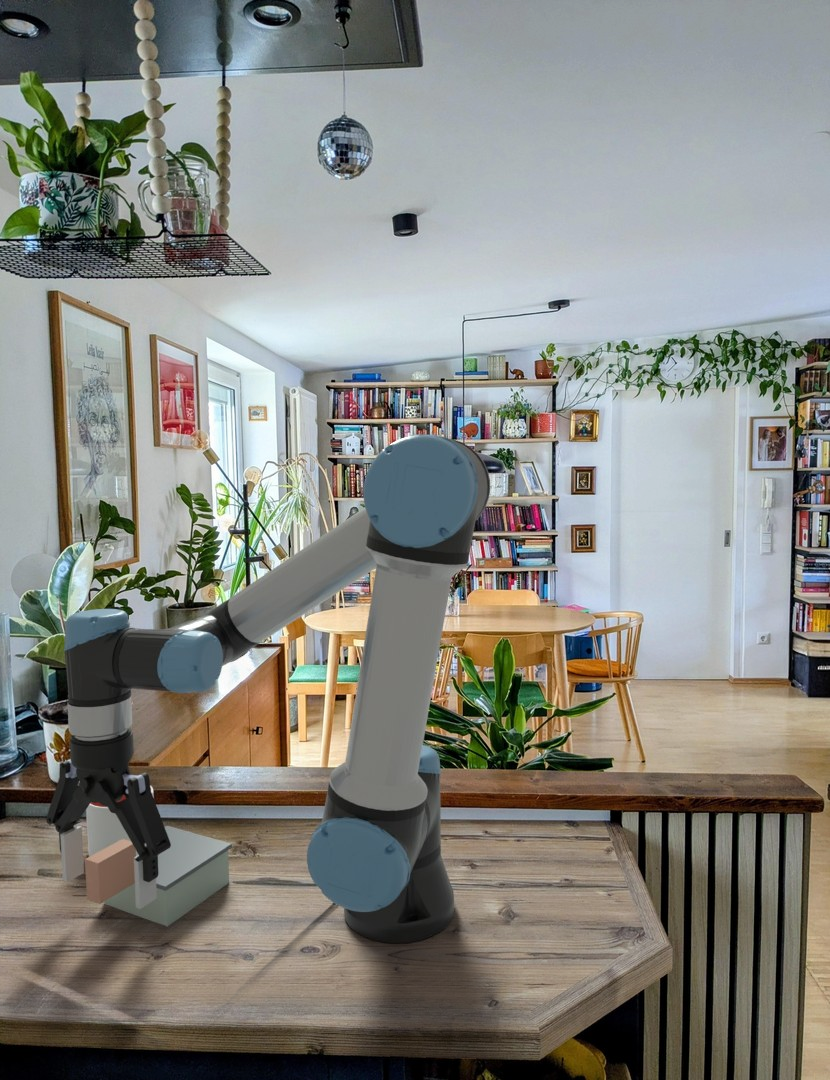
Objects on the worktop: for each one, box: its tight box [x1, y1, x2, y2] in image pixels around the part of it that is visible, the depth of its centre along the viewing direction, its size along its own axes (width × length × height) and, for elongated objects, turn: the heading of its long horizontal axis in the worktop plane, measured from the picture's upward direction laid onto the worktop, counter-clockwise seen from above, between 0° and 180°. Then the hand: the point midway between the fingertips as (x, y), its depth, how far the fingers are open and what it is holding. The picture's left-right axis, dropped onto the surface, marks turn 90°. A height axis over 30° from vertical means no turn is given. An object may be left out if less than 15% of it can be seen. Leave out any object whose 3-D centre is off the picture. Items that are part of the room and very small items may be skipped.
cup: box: [85, 785, 155, 857], centre depth 120 cm, size 10×10×10 cm
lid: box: [84, 825, 233, 905], centre depth 105 cm, size 13×19×6 cm
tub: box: [103, 850, 230, 927], centre depth 108 cm, size 12×12×6 cm
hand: (108, 889), depth 99 cm, fingers open, 13 cm apart
